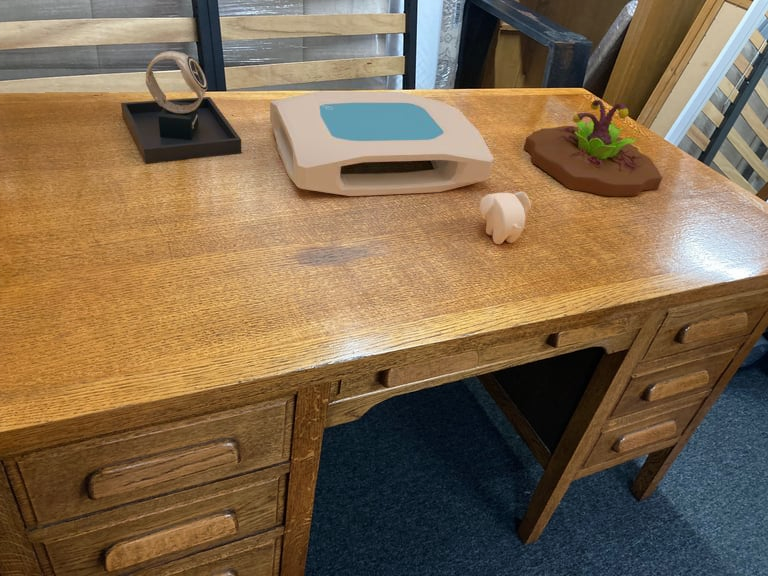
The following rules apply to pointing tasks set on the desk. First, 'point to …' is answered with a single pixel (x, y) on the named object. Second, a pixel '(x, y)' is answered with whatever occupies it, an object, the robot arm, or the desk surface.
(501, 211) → the elephant figurine
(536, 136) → the plant
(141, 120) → the tray
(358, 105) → the document scanner
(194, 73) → the watch
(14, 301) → the desk surface
